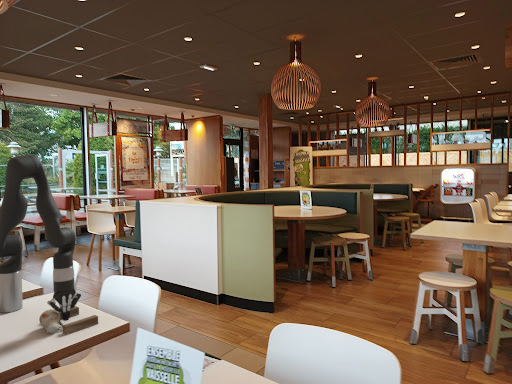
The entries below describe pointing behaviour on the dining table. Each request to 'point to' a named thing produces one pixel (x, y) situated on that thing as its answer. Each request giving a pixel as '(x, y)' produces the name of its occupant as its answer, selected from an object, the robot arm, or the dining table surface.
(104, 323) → the dining table surface
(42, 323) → the mug
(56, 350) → the dining table surface
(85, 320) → the wooden guide rails
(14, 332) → the dining table surface
